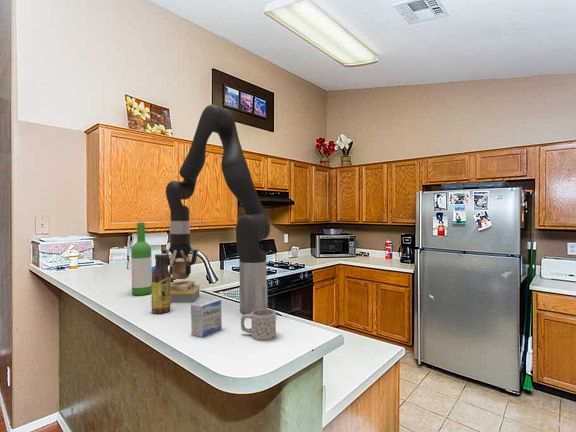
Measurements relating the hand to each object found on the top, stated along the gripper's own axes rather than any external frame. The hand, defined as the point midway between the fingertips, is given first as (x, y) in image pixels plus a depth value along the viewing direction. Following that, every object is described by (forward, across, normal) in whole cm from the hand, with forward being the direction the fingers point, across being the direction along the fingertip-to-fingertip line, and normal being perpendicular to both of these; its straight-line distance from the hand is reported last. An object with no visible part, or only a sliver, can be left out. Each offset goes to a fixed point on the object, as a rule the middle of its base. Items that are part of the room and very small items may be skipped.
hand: (180, 275), depth 134 cm
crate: (+1, 0, 0) cm, 1 cm away
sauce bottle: (+10, +1, +16) cm, 19 cm away
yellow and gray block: (+9, 0, 0) cm, 9 cm away
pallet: (+5, 0, 0) cm, 5 cm away
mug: (+9, -35, +39) cm, 53 cm away
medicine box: (+9, -20, +36) cm, 42 cm away
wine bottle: (+10, +19, -9) cm, 23 cm away
